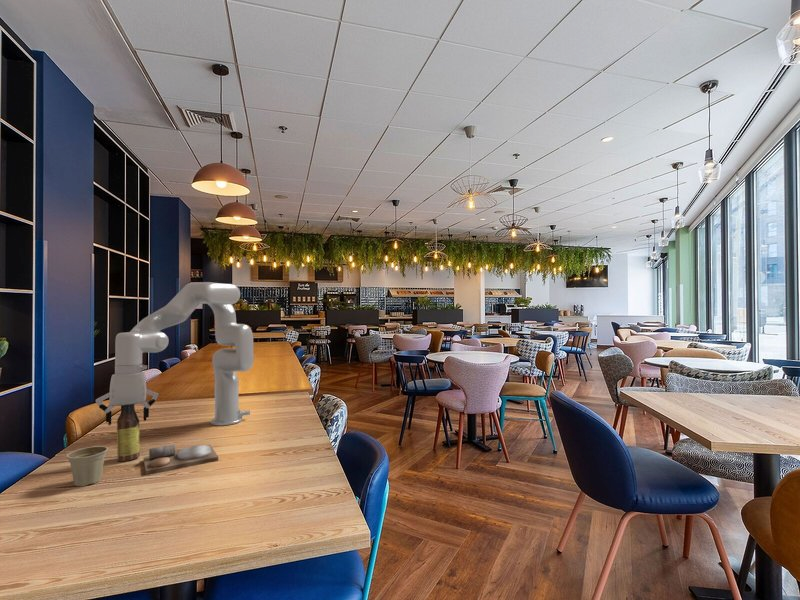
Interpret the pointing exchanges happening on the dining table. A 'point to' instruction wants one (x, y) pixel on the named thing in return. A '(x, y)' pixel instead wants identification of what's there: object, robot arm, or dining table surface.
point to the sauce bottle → (128, 434)
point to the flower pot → (87, 464)
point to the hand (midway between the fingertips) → (127, 422)
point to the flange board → (177, 458)
